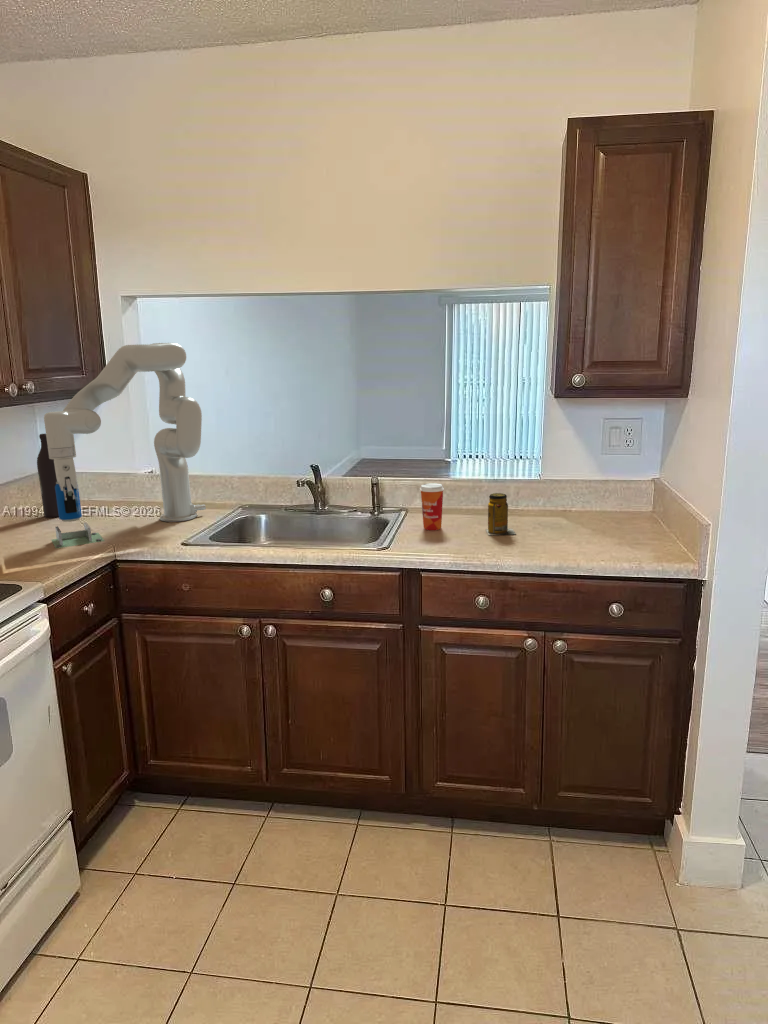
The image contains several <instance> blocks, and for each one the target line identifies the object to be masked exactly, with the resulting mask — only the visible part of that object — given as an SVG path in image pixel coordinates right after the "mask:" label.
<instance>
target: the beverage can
mask: <svg viewBox="0 0 768 1024" xmlns="http://www.w3.org/2000/svg"><path fill="white" fill-rule="evenodd" d="M65 483H66V482H65ZM64 488H65V487H64ZM65 490H67V487H66V488H65ZM73 490H74V496H75V499H76V507H77V512H74V513H66V512H65V505H64V500H65V498H64V492H63V491H61V489H60V486H59V483H58V482H56V485H55V491H56V499H57V506H58V514H59V517H58V520H61V522H63V523H64V522H65V523H67V522H69V523H70V522H71V523H72V522H77V521H79V520H80V519H81V518H82V517H83V516H82V505H81V498H80V491H79V488H78V489H77V490H76V489H74V488H73ZM66 493H67V492H66Z"/></svg>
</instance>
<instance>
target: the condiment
mask: <svg viewBox="0 0 768 1024" xmlns="http://www.w3.org/2000/svg"><path fill="white" fill-rule="evenodd" d="M488 497H489V500H488V501H489V502H488V503H487V504H488V505H487V528H486V529H485V532H486V533H487V535H488V536H504V535H510V536H511V535H517V533H516V532H515V531H514V529H513V528H509V526H508V525H509V524H508V523H509V522H508V520H509V519H508V518H509V513H508V512H509V504H508V499H507V497H508V496H507V494H505V493H501V492H495V493H491V494H489V496H488Z"/></svg>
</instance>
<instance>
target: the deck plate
mask: <svg viewBox="0 0 768 1024" xmlns="http://www.w3.org/2000/svg"><path fill="white" fill-rule="evenodd" d="M91 537H92V542H89V541H88V539H87V538H86V536H85V537H78V538H71V539H65V540H62V541H63V546H61V545H59V543H58V541H57V538H52V539H51V542H52V544H53V546H54V548H55V549H56V550H57V549H61V548H62V549H63V548H68V547H75V546H81V545H88V544H89V545H90V544H95V543H99V542H105V539H104V538H103V537H102V535H101V534H100V532H91Z"/></svg>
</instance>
